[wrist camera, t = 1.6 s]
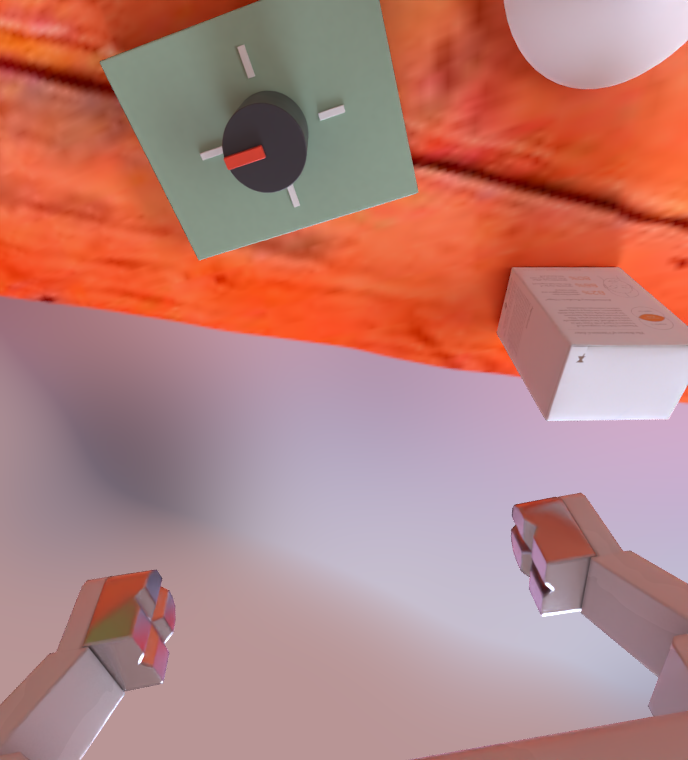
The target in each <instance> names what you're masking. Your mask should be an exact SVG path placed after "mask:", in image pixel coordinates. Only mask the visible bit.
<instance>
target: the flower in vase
mask: <svg viewBox="0 0 688 760" xmlns="http://www.w3.org/2000/svg"><path fill="white" fill-rule="evenodd" d="M504 6H505V11H506V16H507V21H508V24H509V27H510V30H511V33H512V36H513V38H514V40H515V42H516V44H517V46H518V48H519V50H520V51H521V53H522V54H523V56H524V57H525V59H526V60H527V61H528V62H529V63H530V64H531V65H532V67H533V68H534V69H535V70H536V71H538V72H539V73H540V74H542V75H543V76H544V77H546V78H547V79H549V80H551V81H553V82H555V83H557V84H560V85H563V86H567V87H570V88H577V89H599V88H605V87H610V86H614V85H617V84H620V83H623V82H626V81H628V80H630V79H633V78H635V77H637V76H639V75H641V74H643V73H644V72H646V71H648V70H649V69H651V68H653V67H654V66H656V65H658V64H659V63H661V62H662V61H663V60H665V59H666V58H668V57H669V56H670V55H672V54H673V53H674V52H675V51H676V50H677V49H679V48H680V47H681V46H682V45H683V44H684V43H685V42H686V41H687V40H688V0H504Z"/></svg>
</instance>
